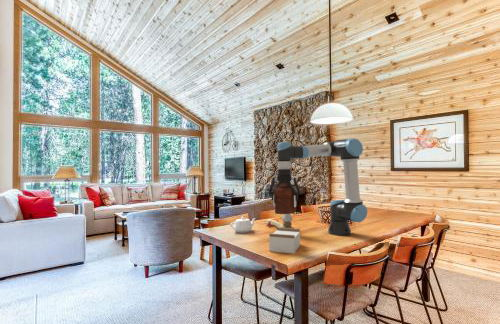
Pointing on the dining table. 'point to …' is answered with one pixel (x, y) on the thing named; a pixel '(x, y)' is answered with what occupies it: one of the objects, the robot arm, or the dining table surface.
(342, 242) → the dining table surface
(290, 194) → the wooden figurine
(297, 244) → the display plinth
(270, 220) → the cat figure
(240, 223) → the teapot
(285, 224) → the candle holder
